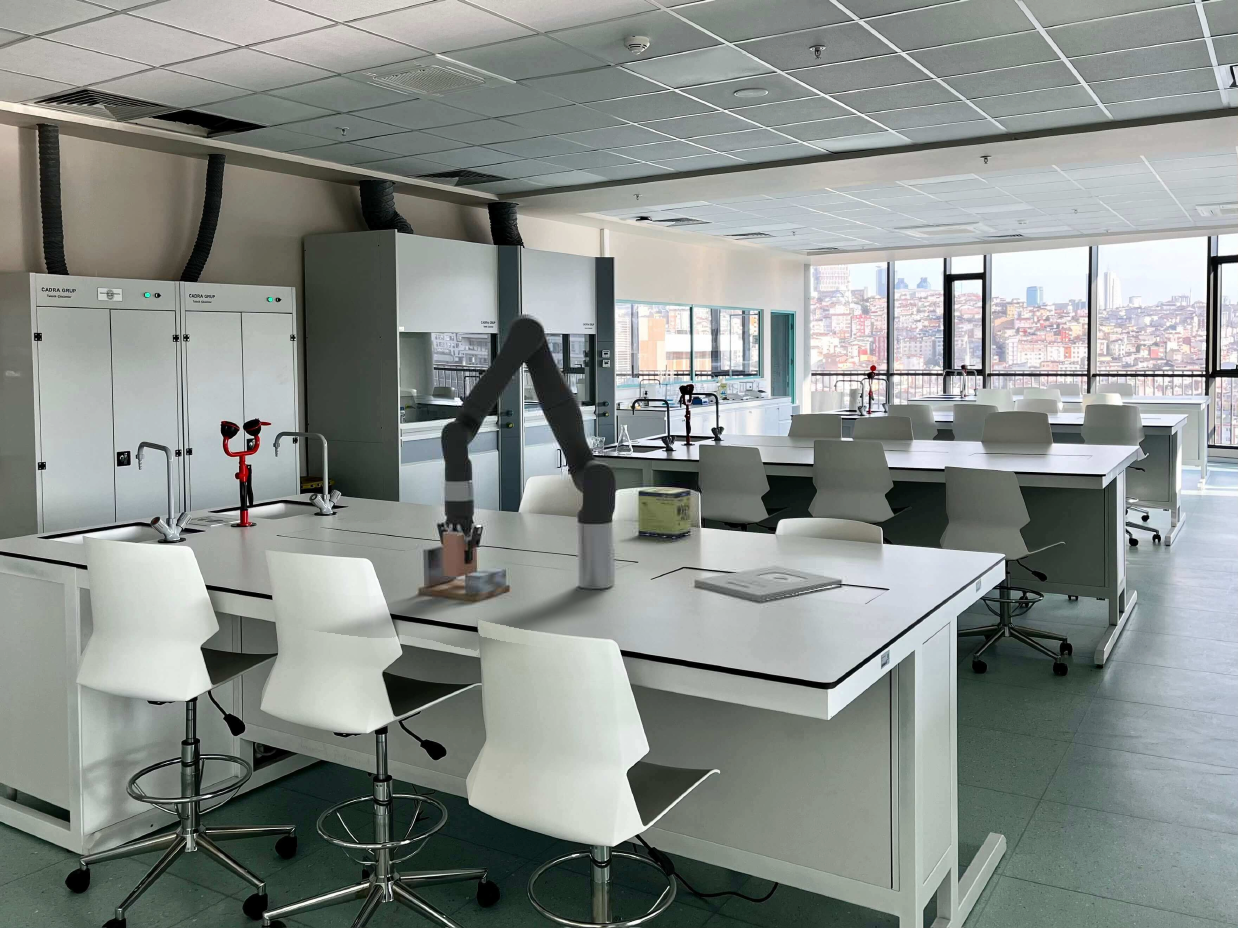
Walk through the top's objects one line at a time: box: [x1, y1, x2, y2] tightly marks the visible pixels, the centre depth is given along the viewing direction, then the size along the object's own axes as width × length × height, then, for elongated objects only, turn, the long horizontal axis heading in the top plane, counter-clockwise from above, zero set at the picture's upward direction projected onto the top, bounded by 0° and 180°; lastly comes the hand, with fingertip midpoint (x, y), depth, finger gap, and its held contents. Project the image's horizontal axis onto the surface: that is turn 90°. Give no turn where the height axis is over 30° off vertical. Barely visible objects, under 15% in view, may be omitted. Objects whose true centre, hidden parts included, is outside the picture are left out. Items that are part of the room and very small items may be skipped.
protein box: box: [637, 487, 692, 539], centre depth 360 cm, size 10×16×16 cm
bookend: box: [422, 544, 458, 586], centre depth 275 cm, size 11×2×10 cm, turn 149°
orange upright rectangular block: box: [443, 530, 478, 578], centre depth 270 cm, size 8×5×11 cm, turn 149°
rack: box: [417, 567, 511, 602], centre depth 271 cm, size 14×19×6 cm
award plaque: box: [694, 565, 843, 602], centre depth 275 cm, size 25×30×2 cm
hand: (460, 562), depth 271 cm, fingers closed on orange upright rectangular block, 4 cm apart
